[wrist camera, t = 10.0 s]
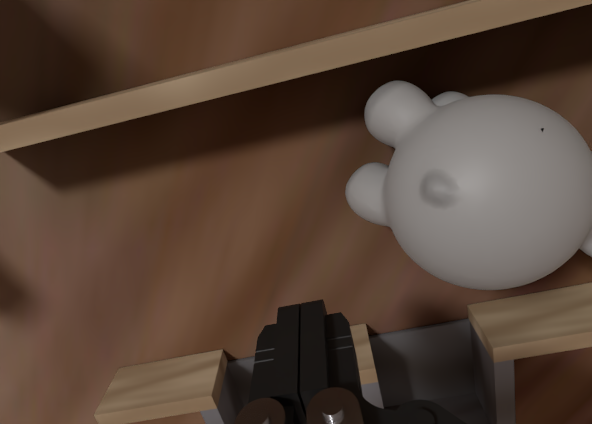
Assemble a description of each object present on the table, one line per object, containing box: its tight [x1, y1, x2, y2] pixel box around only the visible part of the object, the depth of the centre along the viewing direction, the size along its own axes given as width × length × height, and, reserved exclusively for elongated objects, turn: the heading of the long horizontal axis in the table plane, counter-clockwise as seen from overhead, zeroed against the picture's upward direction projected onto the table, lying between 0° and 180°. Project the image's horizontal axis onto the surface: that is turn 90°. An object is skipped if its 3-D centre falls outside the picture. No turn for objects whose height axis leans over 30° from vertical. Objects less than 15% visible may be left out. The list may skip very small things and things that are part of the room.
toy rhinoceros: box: [345, 80, 592, 290], centre depth 17 cm, size 7×12×8 cm, turn 76°
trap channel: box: [0, 0, 592, 424], centre depth 20 cm, size 24×32×5 cm
